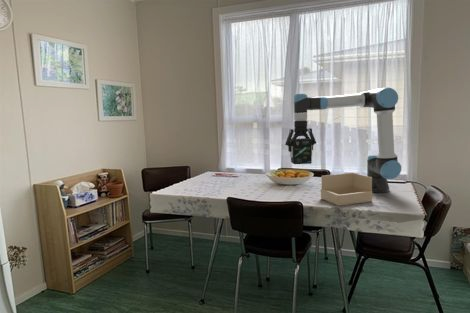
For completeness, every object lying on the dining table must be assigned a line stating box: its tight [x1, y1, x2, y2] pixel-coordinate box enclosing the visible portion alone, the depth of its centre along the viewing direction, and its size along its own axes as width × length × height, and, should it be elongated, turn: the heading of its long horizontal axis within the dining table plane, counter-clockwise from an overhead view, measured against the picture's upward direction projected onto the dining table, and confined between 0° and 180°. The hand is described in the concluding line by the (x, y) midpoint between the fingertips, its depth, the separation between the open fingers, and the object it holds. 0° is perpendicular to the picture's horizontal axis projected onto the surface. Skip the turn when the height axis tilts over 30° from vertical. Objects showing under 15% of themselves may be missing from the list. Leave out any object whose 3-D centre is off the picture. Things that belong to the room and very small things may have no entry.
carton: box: [320, 172, 373, 207], centre depth 194 cm, size 22×18×14 cm
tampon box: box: [290, 137, 313, 165], centre depth 199 cm, size 11×9×15 cm
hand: (301, 156), depth 200 cm, fingers closed on tampon box, 12 cm apart
